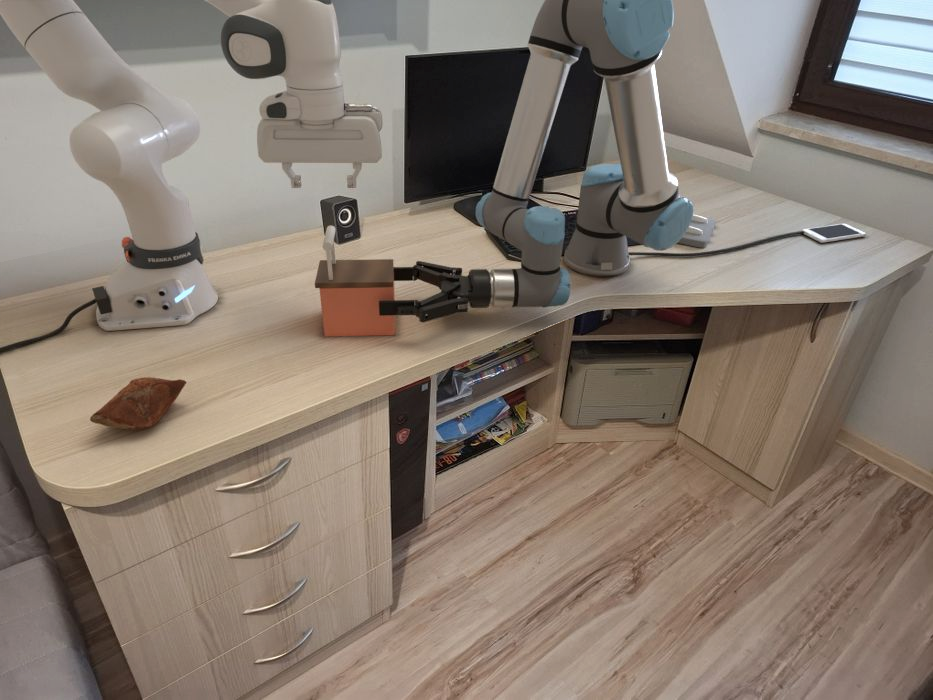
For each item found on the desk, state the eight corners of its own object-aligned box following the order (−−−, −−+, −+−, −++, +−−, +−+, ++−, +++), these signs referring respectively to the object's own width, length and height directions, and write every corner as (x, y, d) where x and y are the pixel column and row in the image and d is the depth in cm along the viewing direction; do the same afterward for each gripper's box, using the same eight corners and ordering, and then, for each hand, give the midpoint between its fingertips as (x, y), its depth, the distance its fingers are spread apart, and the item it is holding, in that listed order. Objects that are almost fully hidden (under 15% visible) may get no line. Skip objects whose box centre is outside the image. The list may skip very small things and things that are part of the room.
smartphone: (800, 232, 171) (801, 229, 171) (843, 226, 176) (844, 222, 176) (821, 243, 166) (822, 239, 165) (865, 236, 171) (866, 232, 170)
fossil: (192, 375, 104) (155, 351, 95) (202, 420, 100) (164, 400, 91) (121, 406, 104) (76, 386, 95) (128, 452, 100) (83, 436, 91)
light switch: (708, 237, 159) (646, 224, 164) (705, 248, 160) (644, 236, 166) (717, 213, 172) (660, 202, 178) (714, 224, 174) (658, 213, 179)
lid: (315, 288, 116) (310, 244, 111) (320, 265, 123) (315, 223, 119) (393, 287, 117) (391, 243, 112) (393, 264, 125) (391, 222, 120)
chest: (324, 336, 121) (319, 288, 116) (328, 311, 129) (324, 265, 124) (395, 334, 123) (393, 287, 117) (395, 309, 131) (393, 264, 125)
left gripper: (382, 99, 106) (385, 180, 114) (256, 98, 104) (267, 180, 112) (381, 108, 101) (384, 193, 109) (248, 107, 99) (261, 193, 107)
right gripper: (496, 339, 116) (379, 342, 114) (481, 276, 137) (381, 278, 135) (499, 303, 112) (377, 305, 110) (482, 244, 133) (380, 245, 130)
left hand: (324, 187), depth 110 cm, fingers open, 8 cm apart
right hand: (379, 290), depth 122 cm, fingers open, 13 cm apart
